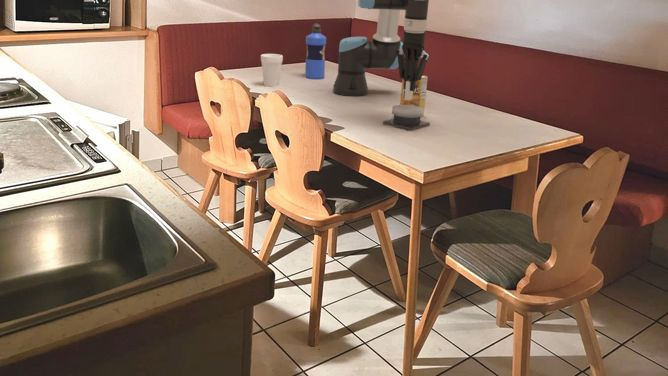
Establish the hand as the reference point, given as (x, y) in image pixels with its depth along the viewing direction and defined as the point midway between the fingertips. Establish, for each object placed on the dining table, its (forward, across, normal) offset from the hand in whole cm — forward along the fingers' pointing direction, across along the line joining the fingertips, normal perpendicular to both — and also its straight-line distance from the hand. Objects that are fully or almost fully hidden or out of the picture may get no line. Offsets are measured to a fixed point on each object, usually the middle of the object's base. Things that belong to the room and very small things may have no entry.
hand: (408, 99), depth 229 cm
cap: (+8, 0, 0) cm, 8 cm away
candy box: (+10, -7, +14) cm, 18 cm away
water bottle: (+11, -79, +40) cm, 89 cm away
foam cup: (+11, -79, +11) cm, 80 cm away
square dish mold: (+9, 0, 0) cm, 9 cm away
